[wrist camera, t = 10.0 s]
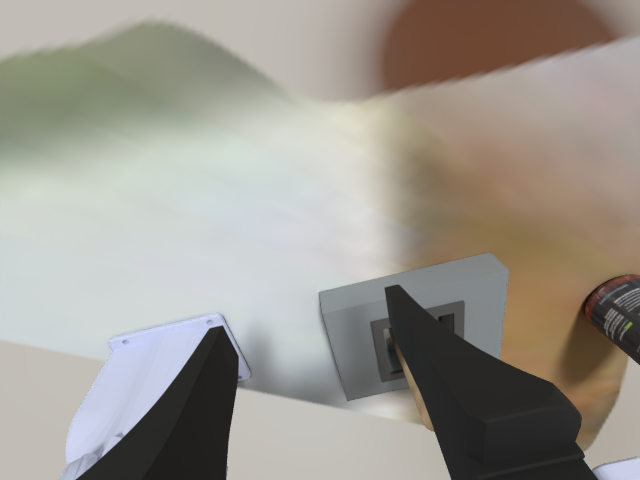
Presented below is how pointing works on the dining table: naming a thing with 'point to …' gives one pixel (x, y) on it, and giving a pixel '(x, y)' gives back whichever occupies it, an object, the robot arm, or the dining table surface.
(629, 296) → the supplement bottle
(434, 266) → the board
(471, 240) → the dining table surface
